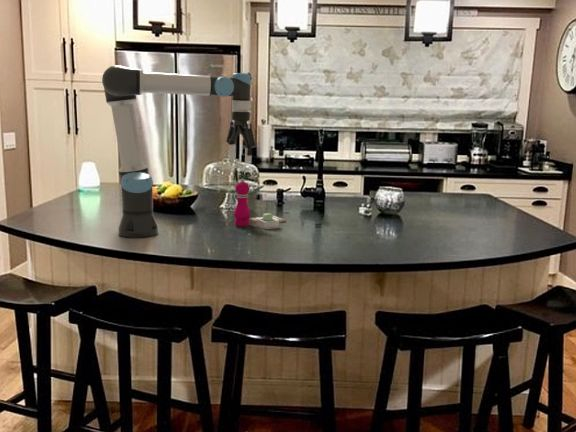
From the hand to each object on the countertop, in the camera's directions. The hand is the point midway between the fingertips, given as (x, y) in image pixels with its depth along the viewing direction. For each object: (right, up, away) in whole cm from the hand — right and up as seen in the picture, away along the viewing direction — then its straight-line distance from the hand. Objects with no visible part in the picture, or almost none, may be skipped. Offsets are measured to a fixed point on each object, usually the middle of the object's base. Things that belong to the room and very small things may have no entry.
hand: (240, 161), depth 246 cm
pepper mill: (+1, -27, +1) cm, 27 cm away
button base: (+12, -28, -1) cm, 30 cm away
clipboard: (+11, -25, +9) cm, 29 cm away
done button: (+12, -26, -2) cm, 29 cm away
